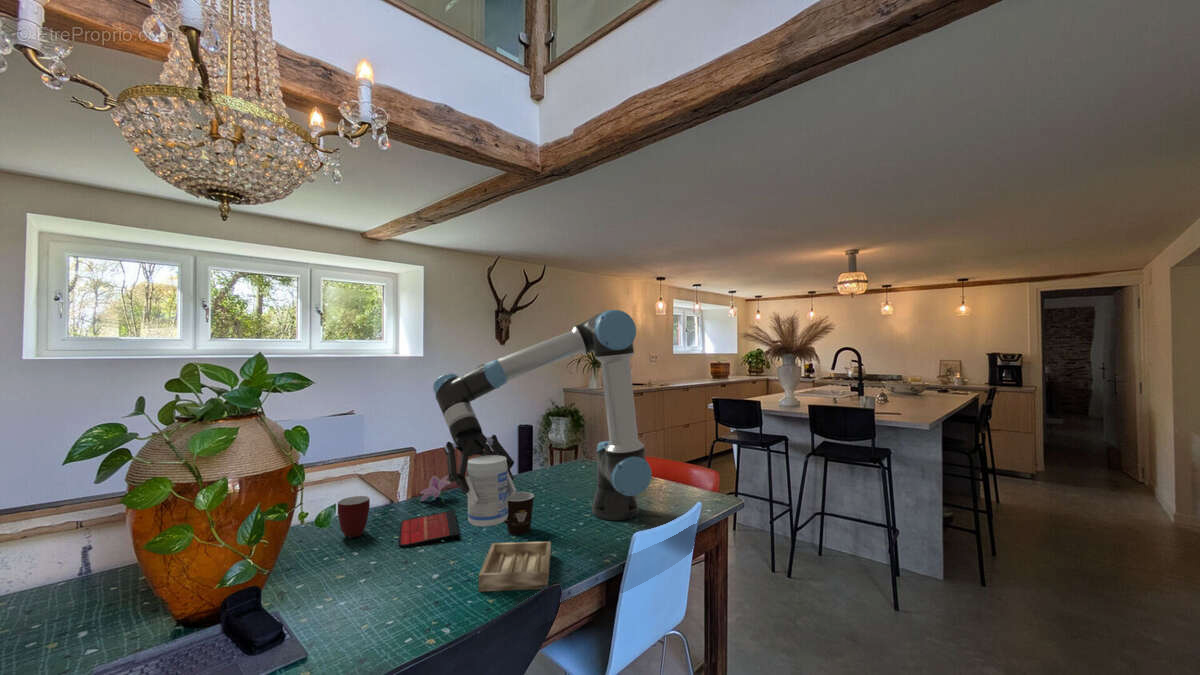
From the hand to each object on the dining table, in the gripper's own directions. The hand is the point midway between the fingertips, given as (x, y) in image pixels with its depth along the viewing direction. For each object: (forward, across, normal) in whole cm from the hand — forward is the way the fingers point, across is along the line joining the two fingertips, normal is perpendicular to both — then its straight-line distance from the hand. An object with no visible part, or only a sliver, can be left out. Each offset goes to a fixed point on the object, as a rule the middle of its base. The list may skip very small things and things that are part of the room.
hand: (494, 498), depth 110 cm
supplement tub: (+2, 0, -7) cm, 7 cm away
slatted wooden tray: (+14, -4, -10) cm, 18 cm away
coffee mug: (-1, -17, -26) cm, 32 cm away
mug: (-23, +18, -47) cm, 55 cm away
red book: (-13, +1, -39) cm, 41 cm away
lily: (-31, -12, -56) cm, 65 cm away
